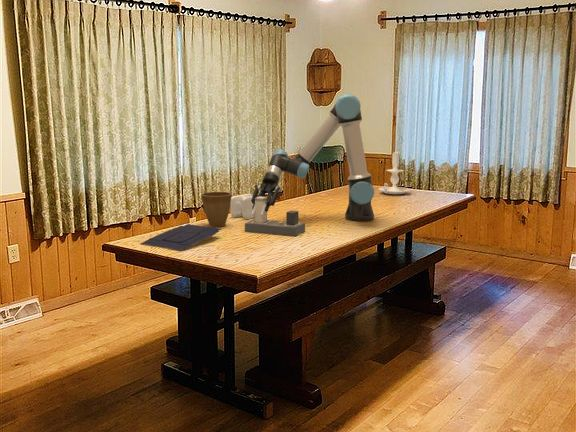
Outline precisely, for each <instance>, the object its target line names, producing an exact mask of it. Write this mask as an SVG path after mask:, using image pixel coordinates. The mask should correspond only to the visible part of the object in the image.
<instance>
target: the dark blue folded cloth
mask: <svg viewBox="0 0 576 432" xmlns="http://www.w3.org/2000/svg"><path fill="white" fill-rule="evenodd" d="M221 230H222V228H220V227H212V226H210V227H209V226H202V225H195V224H192V223H191V224H190V223H187V224H185V225H179V226H177V227H174V228H172V229H169V230H167V231H166V230H165V231H164V232H162V233H160V234H157V235H155V236H152V237H150V238H149V239H147V240H145V241H143V242H141V243H140V245H145V246H151V247H159V248H164V249H168V250H174V251H177V252H178V251H179V252H182V251H184V250H187V249H189V248H191V247H192V246H195V245H196V244H197V243H200V242H202V241H204V240H206V239H208V238H209V237H210V238H211V237H212V236H214V235H216V234H217V233H219V232H220V231H221Z"/></svg>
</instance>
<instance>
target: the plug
mask: <svg viewBox="0 0 576 432" xmlns="http://www.w3.org/2000/svg"><path fill="white" fill-rule="evenodd" d="M266 202H267V196H263V197H261V196H259V197H256V198H255V217H254V219H255V223H265V222H267V220H268V211H267V212H266V213H265V216H264V218H262V217H261V212H262V209H263V207H264V204H267V203H266Z"/></svg>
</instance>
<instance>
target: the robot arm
mask: <svg viewBox="0 0 576 432" xmlns="http://www.w3.org/2000/svg"><path fill="white" fill-rule="evenodd" d="M362 121H363V117H362V109H361V101H360V100H359V98H358V97H357V96H355V95H354V94H352V93H345V94H341V96H339V97H338V98H337V100H336V102H335V104H334V106H333V107H332V108H331V110H330V111H329V116H328V117H327V118H326V119H325V120H324V121H323V123H321V125H320V126H319V128H318V129H317V130H316V131H315V132H314V134H313V135H312V136H311V137H310V139H309V140H308V141H307V142H306V143H305V145H304V146H303V147H302V149H301V150H299V152H298V153H297V154H296V156H295V157H294V158H292V157H289V154H288V152H287V151H285V150H284V149H281V148H280V149H275V150H274V151H273V154H272V155H271V158H270V161H269V163H268V166H267V168H266V170H265V174H264V176H263V179H262V183H261V184H260V185H257V184H256V185H254V191H253V194H252V199H251V202H252V203H253V204H254V205H253V207H252V209H253V211H252V216H253V218H255V198H256V197H259V196H261V197H265V195H266V194H267V196H266V197H267V202H266V203H267V204H264V207H263V209H262V212H261V217H262V218H264V216H265V213H266V212H267V213H268V212H269V209H270V207H274V206H275V204H276V202H277V199H278V197H279V194H280V193H281V192H282V189H281V187H280V186H278V184H279V182H280V179H281V176H282V173H287V174H289V175H292V176H295V177H297V178H301V179H305V178H306V177H307V174H308V172H309V168H310V165H309V164H310V163H311V162H312V160H313V159H314V158H315V157H316V156H317V154H318V153H319V152H320V151H321V150H322V149H323V147H324V146H325V145H326V144H327V142H328V141H329V140H330V139H331V137H333V135H334V134H335V132H336V131H337V130H338V129H339V127H340V126H341V129H342V135H343V141H344V146H345V154H346V157H347V158H346V159H347V165H348V170H349V171H348V172H349V175H348V177H347V182H348V205H347V206H346V207H347V208H346V211H345V214H344V219H345V220H349V221H355V222H367V221H369V222H370V221H373V220H374V219H375V212H374V209H373V206H372V199H374V195H375V189H374V186H373V179H372V178H373V177H372V174H371V173H369V172H368V169H367V168H368V167H367V162H366V157H365V155H366V154H365V151H364V142H363V137H362V132H361V131H362V130H361V127H360V124H361V122H362Z"/></svg>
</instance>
